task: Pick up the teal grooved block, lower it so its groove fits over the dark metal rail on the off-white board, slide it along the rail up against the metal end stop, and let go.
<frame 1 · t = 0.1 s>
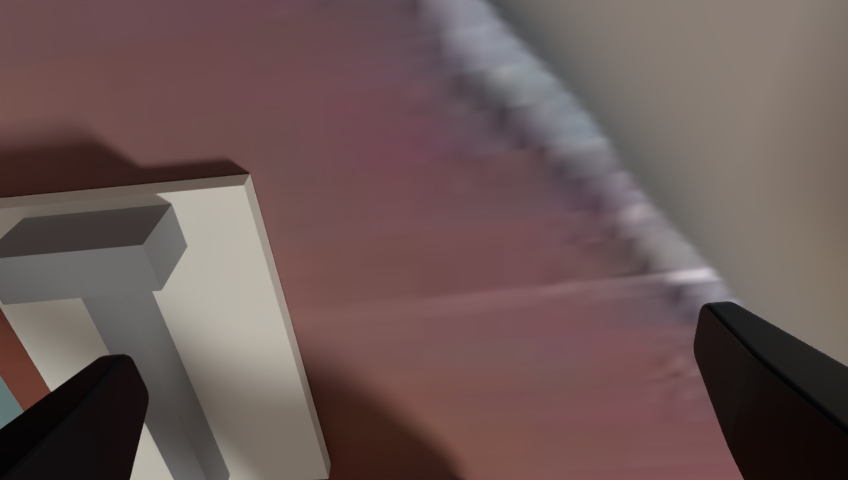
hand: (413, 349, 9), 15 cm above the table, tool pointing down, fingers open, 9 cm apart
cleat board: (174, 353, 29), on the table
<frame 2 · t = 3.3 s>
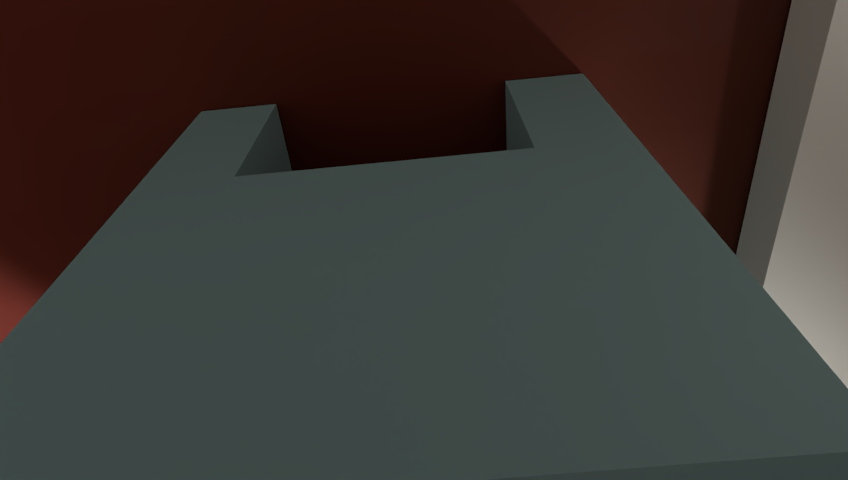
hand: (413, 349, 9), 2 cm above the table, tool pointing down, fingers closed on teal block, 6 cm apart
teal block: (413, 274, 11), on the table, touching gripper
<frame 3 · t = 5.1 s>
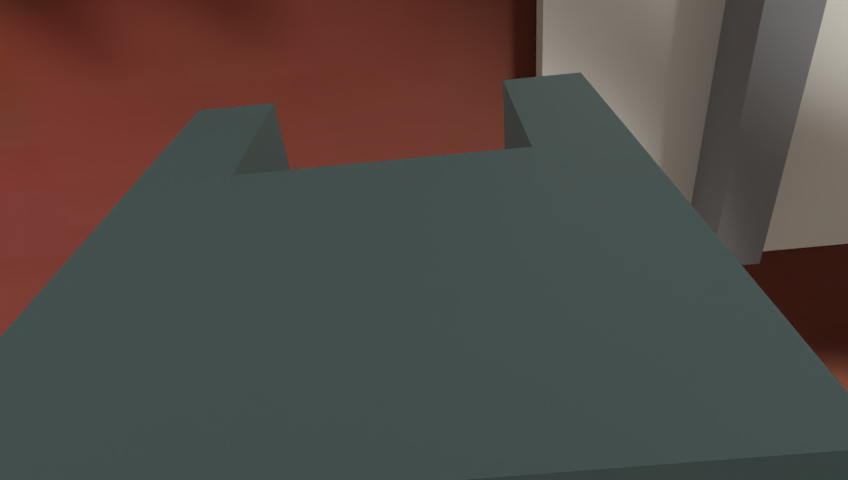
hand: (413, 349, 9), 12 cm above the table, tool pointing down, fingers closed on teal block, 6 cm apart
teal block: (411, 273, 11), point 10 cm above the table, touching gripper
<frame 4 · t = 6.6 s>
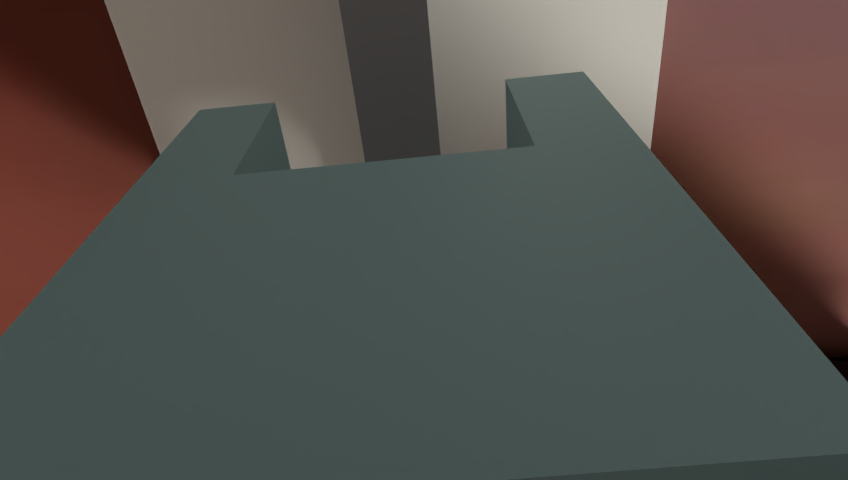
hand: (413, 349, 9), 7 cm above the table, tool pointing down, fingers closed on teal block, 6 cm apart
teal block: (413, 274, 11), point 5 cm above the table, touching gripper
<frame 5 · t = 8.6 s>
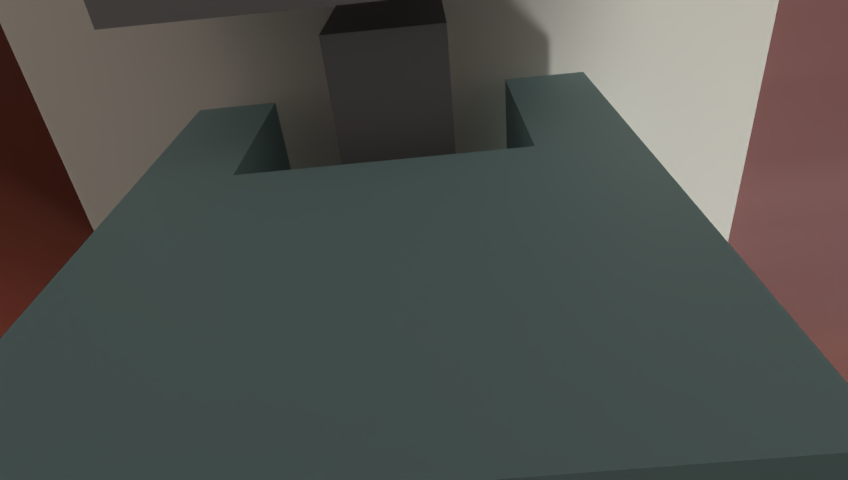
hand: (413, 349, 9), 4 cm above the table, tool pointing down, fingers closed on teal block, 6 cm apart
teal block: (413, 274, 11), point 2 cm above the table, touching gripper
cleat board: (423, 279, 13), on the table
when the fingers open (3 cm above the table, at t = 10.1 s): teal block stays where it is, resting on cleat board.
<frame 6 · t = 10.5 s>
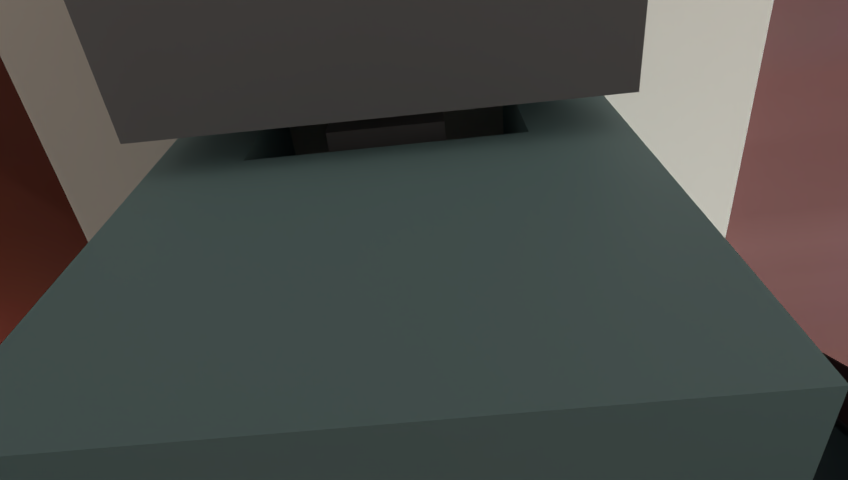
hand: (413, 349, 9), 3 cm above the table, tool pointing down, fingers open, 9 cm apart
teal block: (414, 260, 11), point 1 cm above the table, touching cleat board
cleat board: (424, 325, 14), on the table
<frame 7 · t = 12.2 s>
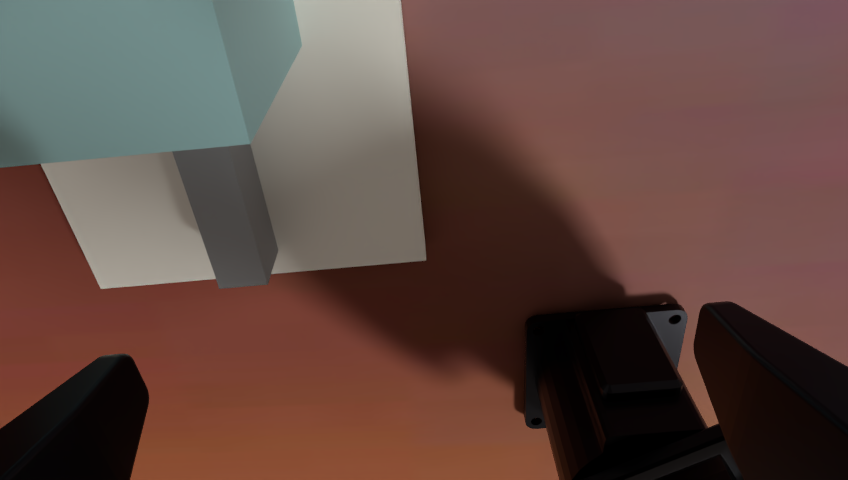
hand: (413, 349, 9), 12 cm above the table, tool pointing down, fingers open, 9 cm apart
cleat board: (198, 11, 18), on the table
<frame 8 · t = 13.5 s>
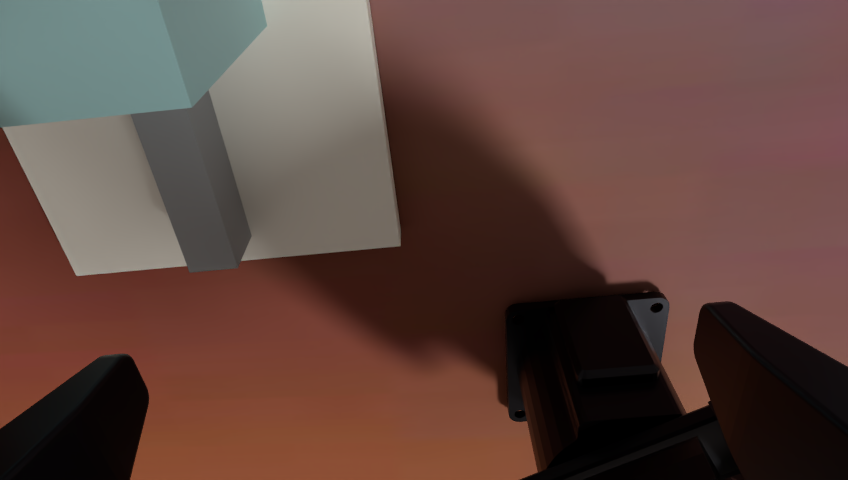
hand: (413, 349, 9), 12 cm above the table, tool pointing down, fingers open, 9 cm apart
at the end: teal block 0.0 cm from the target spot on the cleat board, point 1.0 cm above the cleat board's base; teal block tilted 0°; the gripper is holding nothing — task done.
